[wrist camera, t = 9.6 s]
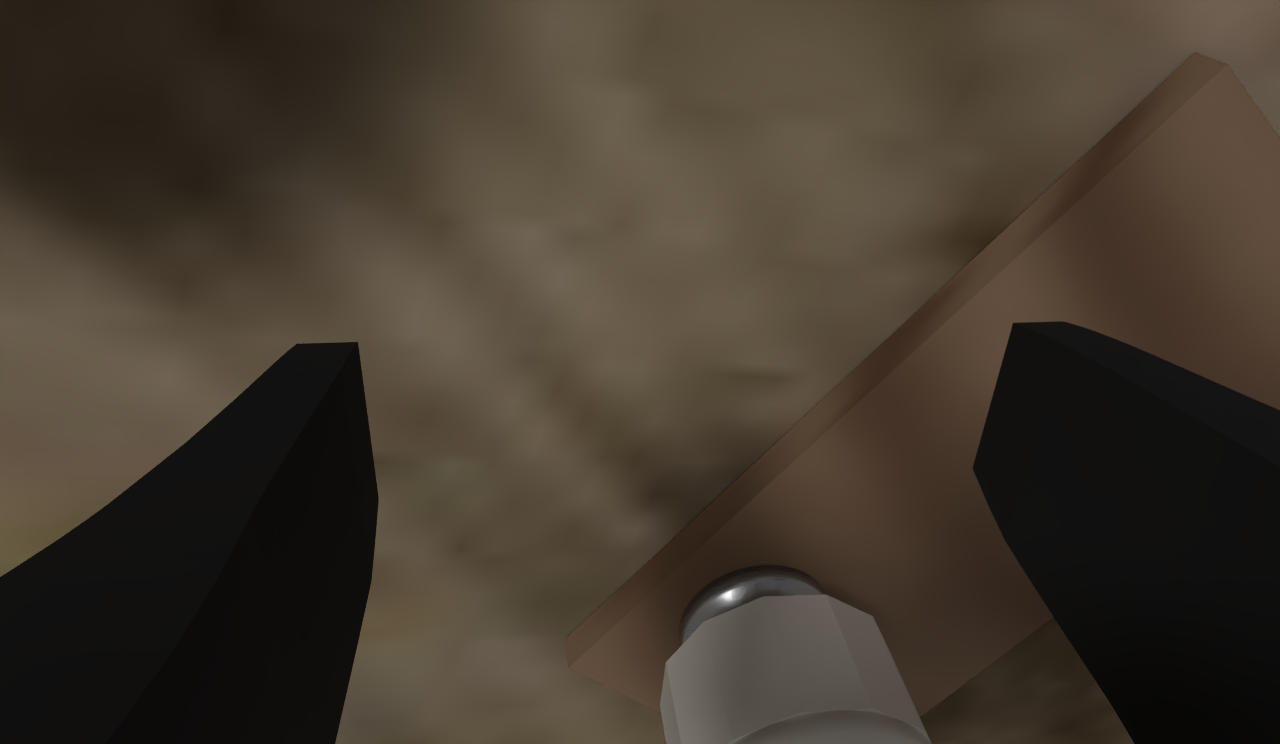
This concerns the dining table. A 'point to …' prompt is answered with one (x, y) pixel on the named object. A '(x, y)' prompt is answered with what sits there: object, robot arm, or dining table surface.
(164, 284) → the dining table surface
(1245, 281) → the post board
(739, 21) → the dining table surface
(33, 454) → the dining table surface
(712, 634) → the cap
